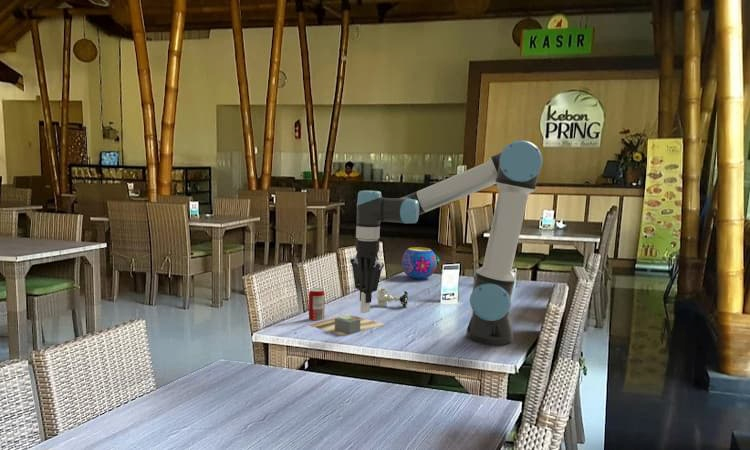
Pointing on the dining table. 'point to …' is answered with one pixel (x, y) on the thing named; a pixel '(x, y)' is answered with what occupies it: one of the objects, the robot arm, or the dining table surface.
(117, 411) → the dining table surface
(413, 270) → the ceramic pot
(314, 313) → the soda can
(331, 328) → the panel
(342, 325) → the block
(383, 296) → the valve
